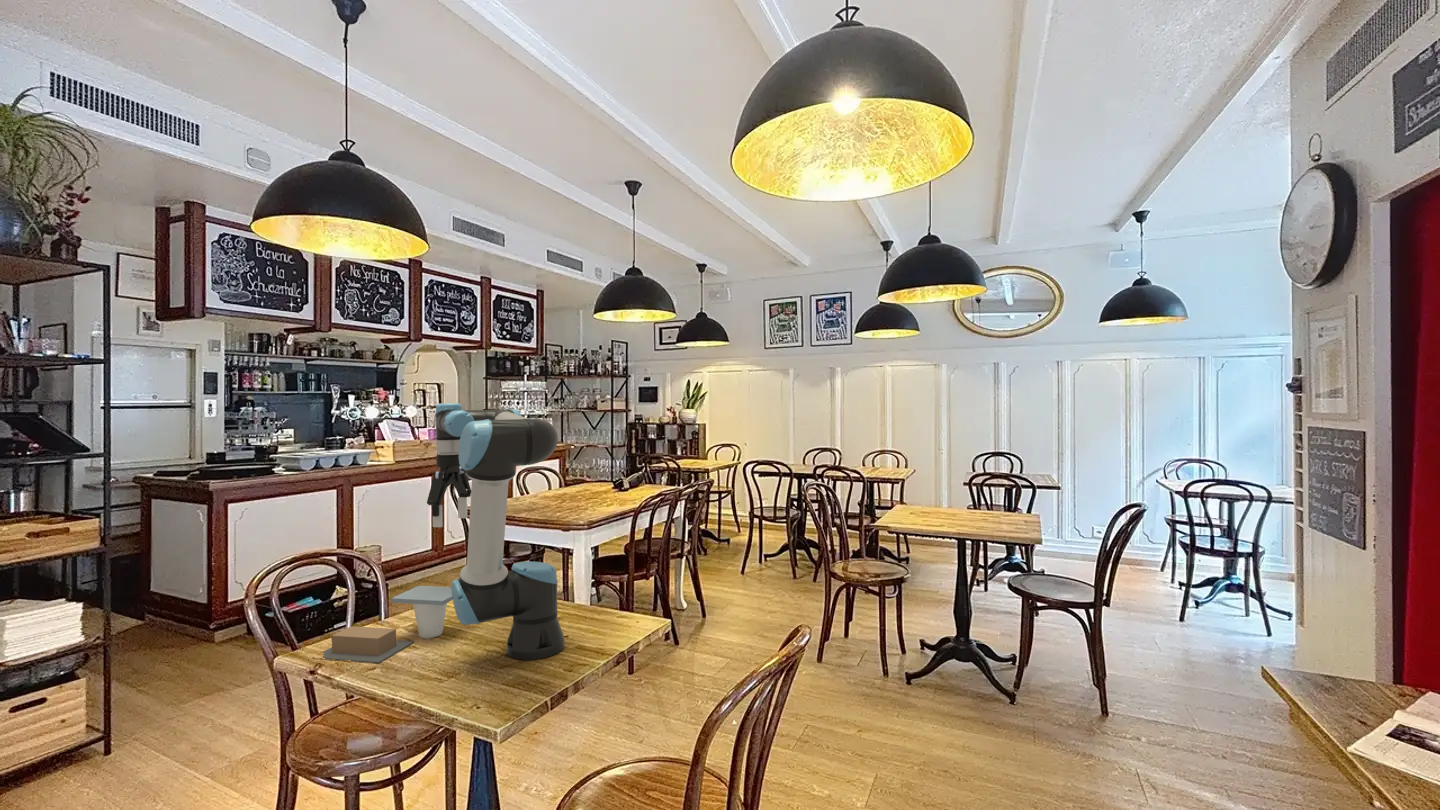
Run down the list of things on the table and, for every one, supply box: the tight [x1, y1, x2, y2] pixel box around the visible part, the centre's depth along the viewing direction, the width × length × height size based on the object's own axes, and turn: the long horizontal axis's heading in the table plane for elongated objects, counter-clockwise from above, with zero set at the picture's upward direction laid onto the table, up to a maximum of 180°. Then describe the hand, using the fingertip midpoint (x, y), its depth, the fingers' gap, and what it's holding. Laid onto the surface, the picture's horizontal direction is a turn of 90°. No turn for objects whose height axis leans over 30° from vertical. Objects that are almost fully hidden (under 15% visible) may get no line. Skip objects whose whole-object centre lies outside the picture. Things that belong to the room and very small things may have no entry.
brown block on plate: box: [322, 625, 415, 664], centre depth 172 cm, size 20×14×5 cm
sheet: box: [390, 585, 453, 605], centre depth 183 cm, size 16×12×1 cm
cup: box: [412, 603, 448, 639], centre depth 183 cm, size 10×10×11 cm
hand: (450, 522), depth 195 cm, fingers open, 13 cm apart
